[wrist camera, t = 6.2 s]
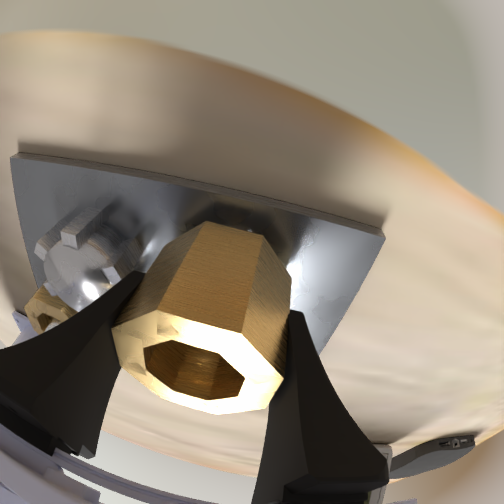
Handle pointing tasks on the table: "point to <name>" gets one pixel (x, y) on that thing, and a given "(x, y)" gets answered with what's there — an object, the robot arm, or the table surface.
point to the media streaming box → (430, 456)
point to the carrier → (171, 236)
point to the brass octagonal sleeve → (209, 321)
